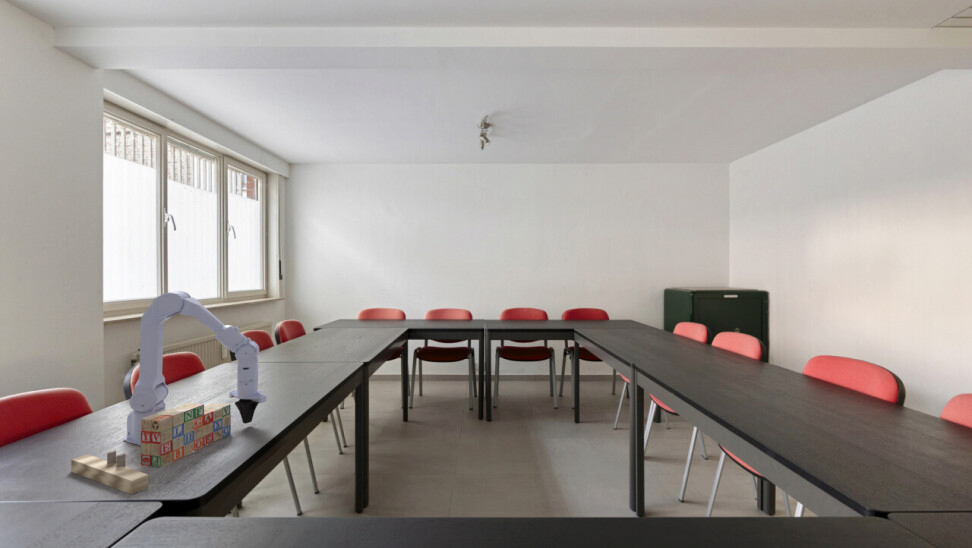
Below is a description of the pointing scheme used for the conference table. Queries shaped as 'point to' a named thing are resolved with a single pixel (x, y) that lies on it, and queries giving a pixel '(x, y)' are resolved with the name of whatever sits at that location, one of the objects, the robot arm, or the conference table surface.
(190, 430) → the stack of blocks
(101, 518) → the conference table surface
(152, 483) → the conference table surface
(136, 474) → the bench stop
